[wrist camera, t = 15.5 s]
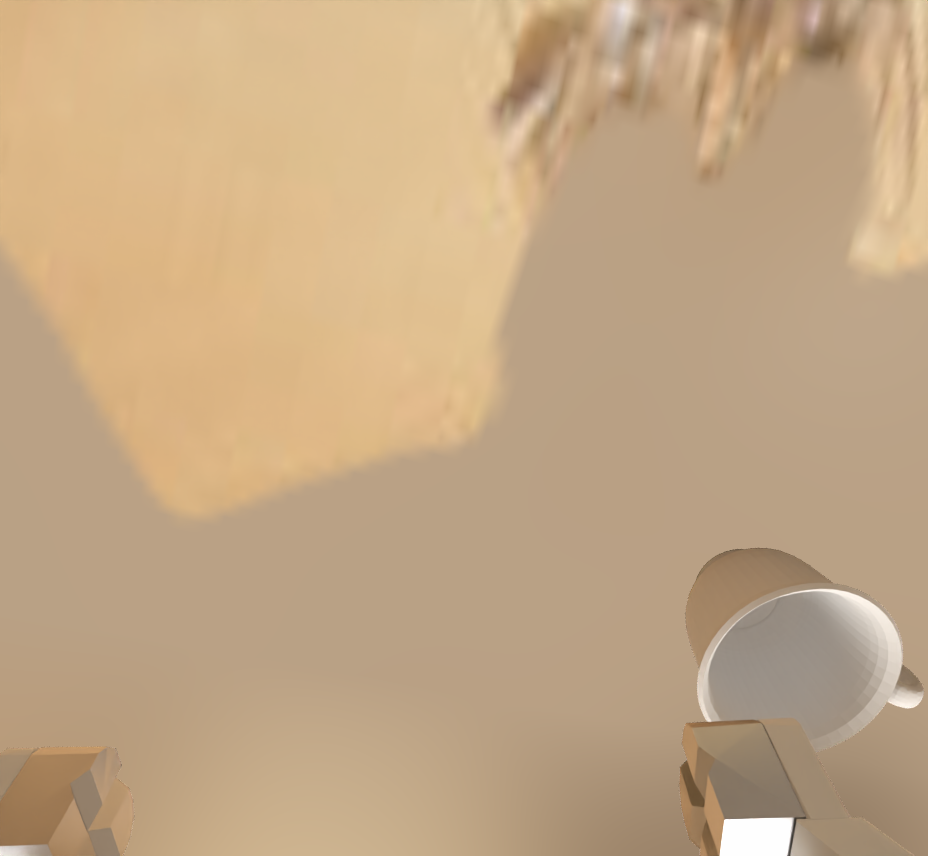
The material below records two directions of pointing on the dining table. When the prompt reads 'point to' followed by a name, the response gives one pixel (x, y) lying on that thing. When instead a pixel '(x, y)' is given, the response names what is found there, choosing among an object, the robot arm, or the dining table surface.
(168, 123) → the dining table surface
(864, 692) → the teacup
